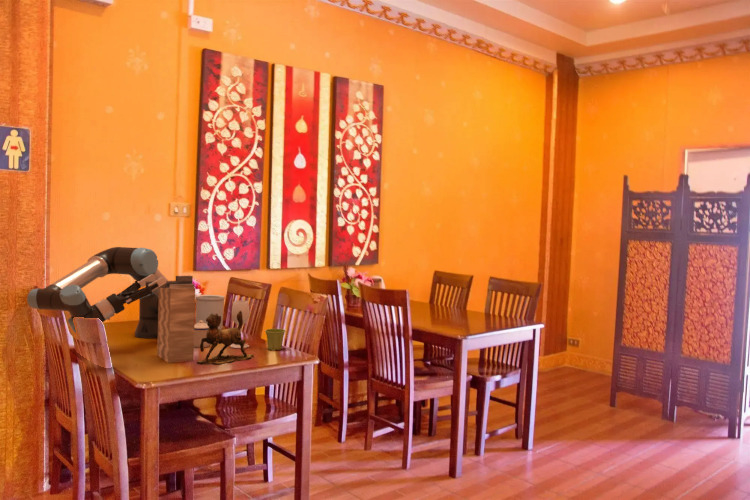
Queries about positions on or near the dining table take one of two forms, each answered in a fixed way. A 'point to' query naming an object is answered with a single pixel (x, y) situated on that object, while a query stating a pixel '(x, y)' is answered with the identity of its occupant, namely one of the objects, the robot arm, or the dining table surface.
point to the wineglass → (244, 308)
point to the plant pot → (275, 338)
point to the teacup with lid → (200, 334)
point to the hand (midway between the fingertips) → (159, 278)
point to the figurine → (223, 341)
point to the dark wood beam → (178, 280)
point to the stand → (176, 323)
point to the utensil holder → (209, 307)
